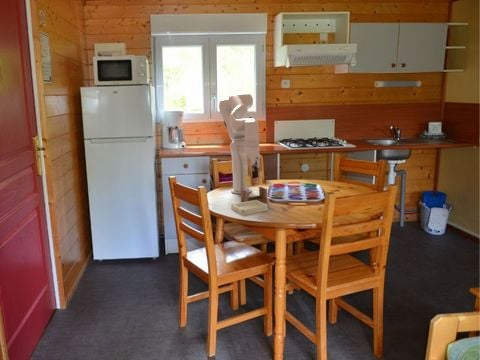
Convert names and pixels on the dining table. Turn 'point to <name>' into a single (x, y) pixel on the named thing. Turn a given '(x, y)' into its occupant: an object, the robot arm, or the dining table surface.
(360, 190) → the dining table surface
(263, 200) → the holder
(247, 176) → the candy box
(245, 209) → the tray
